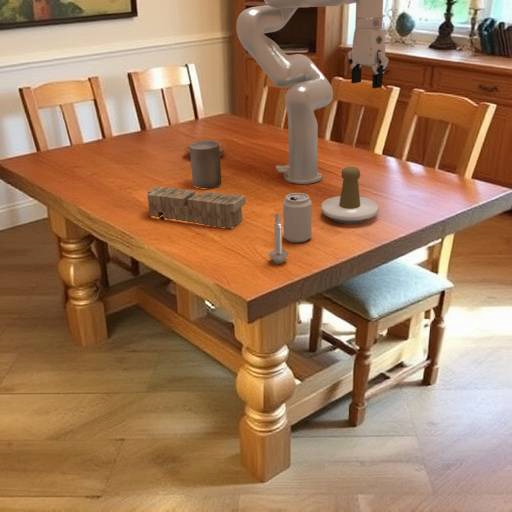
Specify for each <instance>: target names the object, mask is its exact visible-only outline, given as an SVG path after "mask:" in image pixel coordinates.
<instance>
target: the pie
mask: <svg viewBox="0 0 512 512" xmlns="http://www.w3.org/2000/svg"><path fill="white" fill-rule="evenodd" d="M199 141H200V140H198V141H196V142H199ZM205 141H212V140H211V139H210V140H205ZM214 141H215V142H218V143H219V150H220V158H221V157H222V156H223V154H224V152H225V150H226V149H227V145H226V144H225V143H222V142H221V141H218V140H214ZM192 143H193V142H191V143H190V144H189V145H191V144H192ZM189 145H187V146H184V150H185V152H186V153H187V154H188V156H190V147H189Z"/></svg>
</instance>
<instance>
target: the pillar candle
mask: <svg viewBox="0 0 512 512" xmlns="http://www.w3.org/2000/svg"><path fill="white" fill-rule="evenodd" d="M198 141H199V142H197V141H194V142H191V143H192V144H191V143H190V144H191V145H190V144H189V145H188V146H189V147H190V155H189V156H190V164H191V165H190V166H191V180H192V185H194V186H196V187H199V188H212V189H215V188H214V187H217V186H219V185H221V183H222V182H223V181H222V172H221V171H222V169H221V157H220V150H219V143H218V142H219V141H218V142H215V141H216V140H211V141H206V140H198ZM222 184H223V183H222ZM194 186H193V187H194ZM221 186H222V185H221ZM219 187H220V186H219ZM217 188H218V187H217Z"/></svg>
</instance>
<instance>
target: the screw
mask: <svg viewBox="0 0 512 512" xmlns="http://www.w3.org/2000/svg"><path fill="white" fill-rule="evenodd" d="M274 219H275V220H274V226H273V227H274V229H273V230H274V231H273V232H274V235H273V236H274V249H272V250H270V251H269V252H268V256H269V258H270V259H272V262H273V263H274V264H277V265H280V264H283V263H284V262H285V259H286V258H288V257H289V252H288V251H286V250H284V249H283V234H282V233H283V227H282V226H283V225H282V220H281V213H278V212H277V213H275V214H274Z"/></svg>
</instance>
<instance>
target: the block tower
mask: <svg viewBox="0 0 512 512" xmlns="http://www.w3.org/2000/svg"><path fill="white" fill-rule="evenodd" d="M246 197H247V196H246V195H242V194H227V193H221V192H220V193H219V192H211V191H204V192H202V193H201V194H199V193H196V190H193V189H182V188H177V187H168V186H167V187H165V186H160V185H156V186H154V187H153V188H151V189H149V190H148V191H147V202H148V210H149V217H150V216H155V217H160V216H161V215H163V217H162V219H163V218H167V219H176V220H181V221H187V222H193V223H199V224H204V225H209V226H216V227H225V228H232V227H233V228H235V227H236V226H237V225H239V223H241V220H242V221H243V220H244V219H243V210H242V209H243V208H242V207H244V205H246V204H247V202H246V201H247V199H246ZM236 224H237V225H236ZM235 225H236V226H235ZM209 226H208V227H209ZM234 226H235V227H234ZM216 227H215V228H216ZM225 228H224V229H225ZM233 228H232V229H233Z"/></svg>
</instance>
